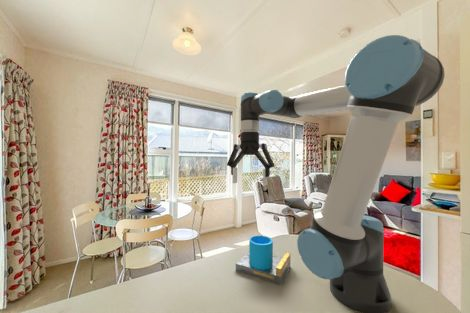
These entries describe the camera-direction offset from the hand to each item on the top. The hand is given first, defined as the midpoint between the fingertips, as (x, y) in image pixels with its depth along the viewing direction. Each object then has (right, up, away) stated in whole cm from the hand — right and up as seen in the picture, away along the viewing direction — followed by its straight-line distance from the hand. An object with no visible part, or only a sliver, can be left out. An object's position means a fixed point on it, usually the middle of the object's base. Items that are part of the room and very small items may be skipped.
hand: (249, 184), depth 83 cm
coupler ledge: (+4, -29, -11) cm, 31 cm away
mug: (+3, -26, -10) cm, 28 cm away
